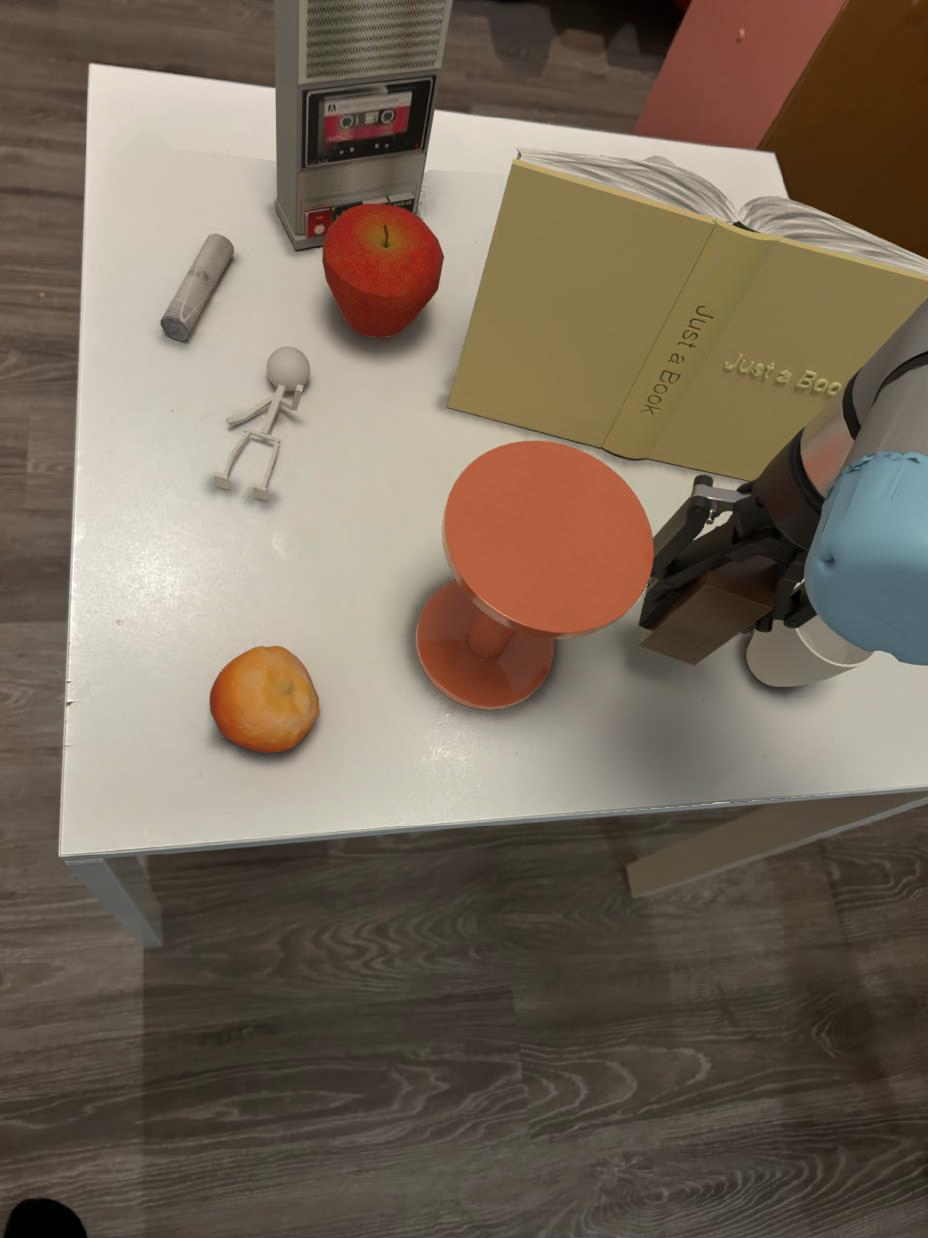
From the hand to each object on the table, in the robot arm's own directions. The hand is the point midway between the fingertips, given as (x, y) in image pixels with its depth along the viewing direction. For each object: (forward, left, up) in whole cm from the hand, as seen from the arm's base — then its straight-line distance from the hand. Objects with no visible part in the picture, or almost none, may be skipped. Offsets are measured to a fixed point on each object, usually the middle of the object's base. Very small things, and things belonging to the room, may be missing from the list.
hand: (678, 624), depth 67 cm
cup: (+4, -12, -7) cm, 15 cm away
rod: (+20, +50, -7) cm, 55 cm away
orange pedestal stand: (-4, +14, -7) cm, 16 cm away
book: (+24, +7, -7) cm, 26 cm away
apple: (+25, +34, -7) cm, 43 cm away
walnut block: (0, 0, -1) cm, 1 cm away
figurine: (+9, +39, -7) cm, 41 cm away
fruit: (-16, +29, -7) cm, 34 cm away
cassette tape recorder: (+37, +41, -7) cm, 55 cm away
